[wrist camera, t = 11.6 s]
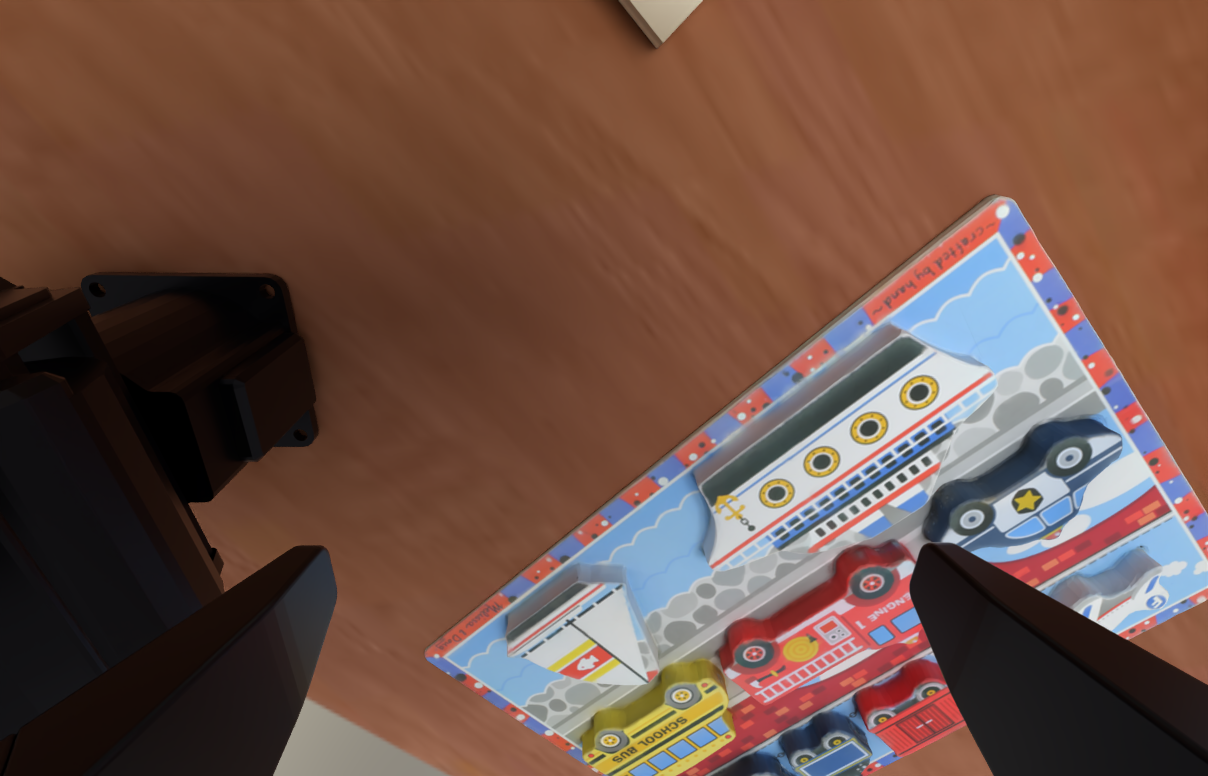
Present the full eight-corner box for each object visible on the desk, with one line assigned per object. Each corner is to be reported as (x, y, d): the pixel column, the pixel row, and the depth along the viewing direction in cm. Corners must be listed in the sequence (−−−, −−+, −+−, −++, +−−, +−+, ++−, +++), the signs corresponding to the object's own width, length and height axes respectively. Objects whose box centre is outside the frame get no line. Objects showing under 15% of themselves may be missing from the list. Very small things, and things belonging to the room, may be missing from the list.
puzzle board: (985, 184, 20) (1040, 193, 17) (1214, 553, 27) (1275, 595, 25) (420, 640, 28) (405, 689, 26) (715, 828, 36) (725, 879, 33)
